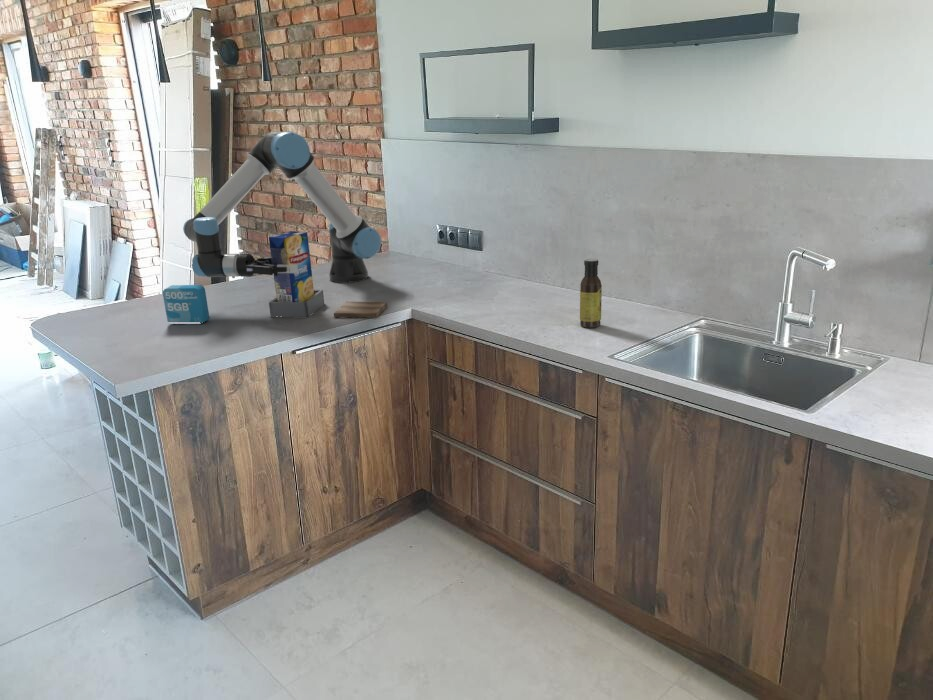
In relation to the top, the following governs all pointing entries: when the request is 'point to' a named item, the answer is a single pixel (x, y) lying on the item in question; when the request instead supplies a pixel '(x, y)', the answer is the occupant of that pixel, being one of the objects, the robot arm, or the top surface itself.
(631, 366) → the top surface
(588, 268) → the sauce bottle
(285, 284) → the beverage box
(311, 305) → the charcoal crate
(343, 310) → the brown flat wooden slab
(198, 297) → the data package
